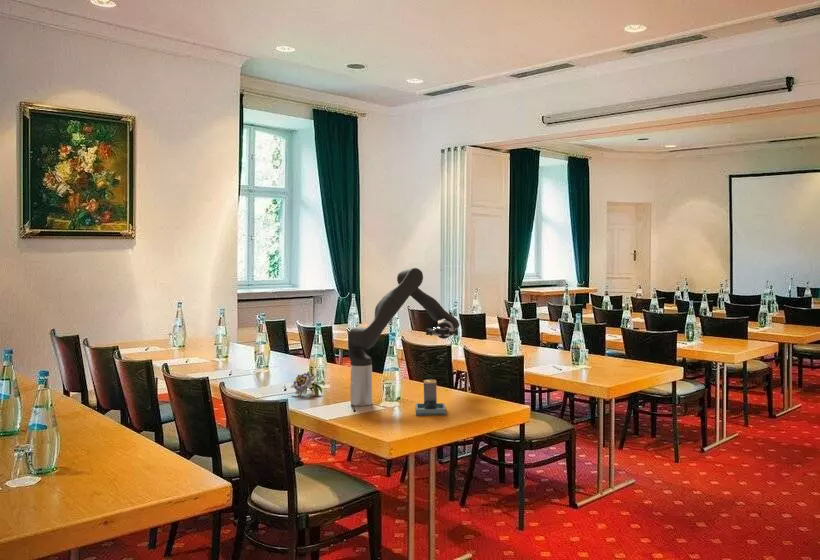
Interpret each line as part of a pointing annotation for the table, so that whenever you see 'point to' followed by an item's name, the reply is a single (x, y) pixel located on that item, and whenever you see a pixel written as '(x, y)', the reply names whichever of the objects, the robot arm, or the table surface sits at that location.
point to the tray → (430, 410)
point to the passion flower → (306, 384)
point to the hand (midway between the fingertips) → (440, 333)
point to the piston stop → (430, 394)
